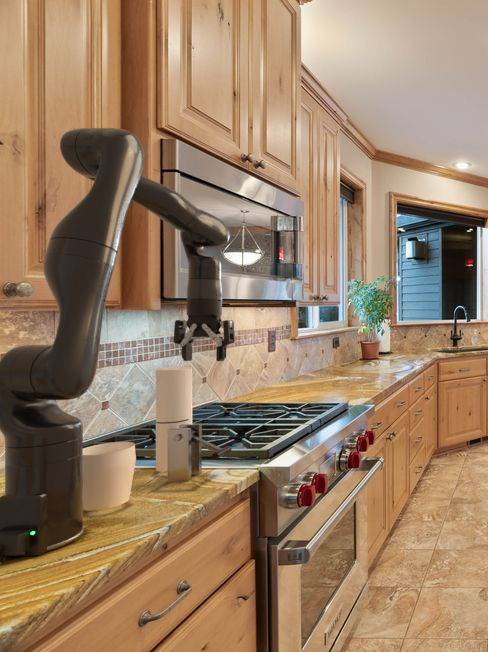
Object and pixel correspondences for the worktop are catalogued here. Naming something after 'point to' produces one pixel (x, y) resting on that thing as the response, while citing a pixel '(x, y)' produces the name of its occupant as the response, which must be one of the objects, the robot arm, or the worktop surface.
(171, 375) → the cylindrical container
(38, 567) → the worktop surface
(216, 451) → the lever
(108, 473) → the cup
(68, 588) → the worktop surface
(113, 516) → the worktop surface
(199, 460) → the bracket
